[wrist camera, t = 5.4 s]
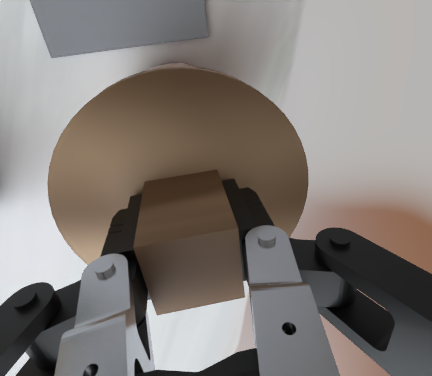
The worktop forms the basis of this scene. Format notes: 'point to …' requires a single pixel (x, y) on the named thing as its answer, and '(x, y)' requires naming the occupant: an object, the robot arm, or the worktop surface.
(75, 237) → the lid
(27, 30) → the worktop surface
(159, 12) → the felt pad
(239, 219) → the robot arm
